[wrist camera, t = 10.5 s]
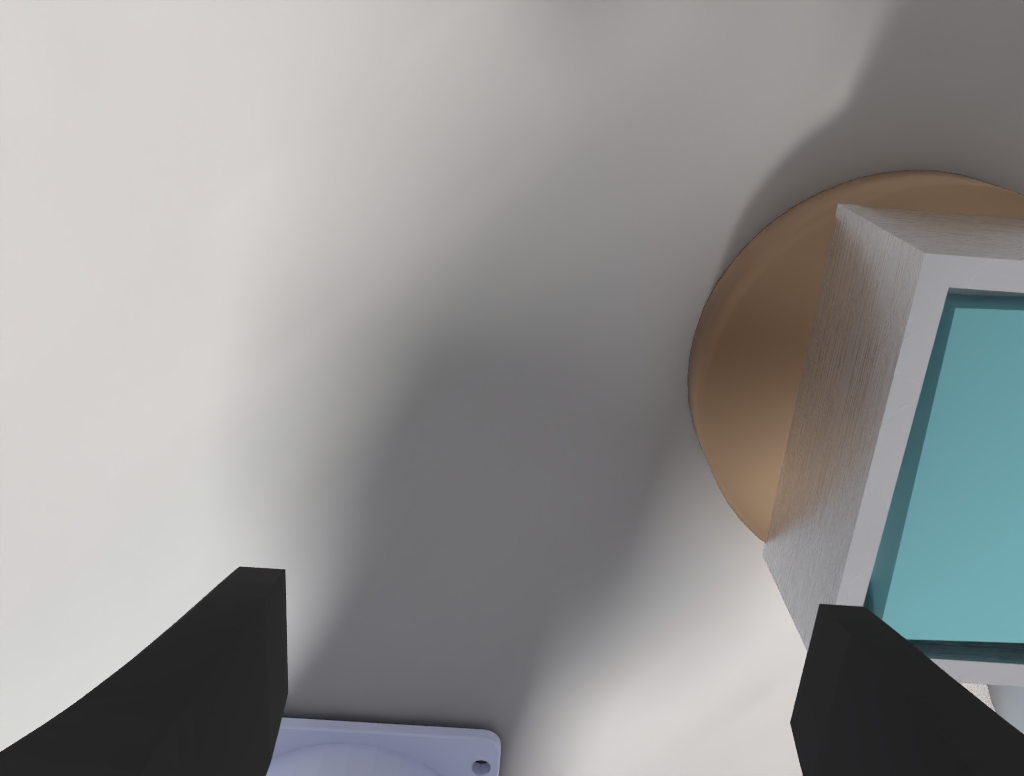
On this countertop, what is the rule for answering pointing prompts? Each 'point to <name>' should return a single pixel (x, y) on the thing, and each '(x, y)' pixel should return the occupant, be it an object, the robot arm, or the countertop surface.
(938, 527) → the cover plate
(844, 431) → the white and teal box
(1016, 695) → the grey stand
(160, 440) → the countertop surface
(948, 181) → the walnut stand
